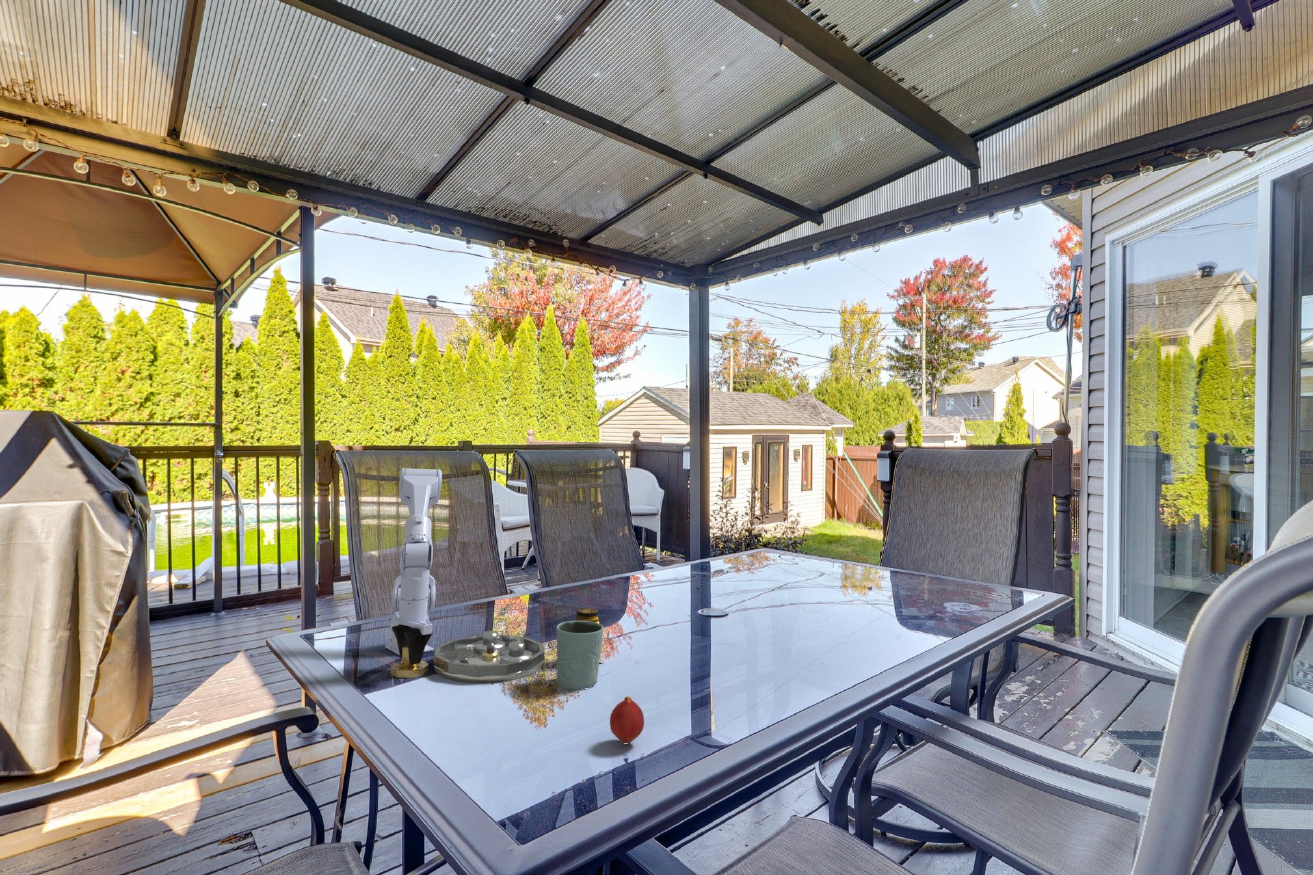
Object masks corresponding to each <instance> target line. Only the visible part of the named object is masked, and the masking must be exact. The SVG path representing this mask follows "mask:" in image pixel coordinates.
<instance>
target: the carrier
mask: <svg viewBox="0 0 1313 875" xmlns="http://www.w3.org/2000/svg"><path fill="white" fill-rule="evenodd" d="M545 652H546V650H545V648H544V645H543V643H542V642H539V641H538V640H537V641H536V640H535V639H532V638H529V637H526V636H517V635H508V634H499V631H495V630H486V631H484V632H483V633H482V635H481V634H480V635H471V636H466V637H460V638H454V639H451V640H449V641H448V640H447V641H446V642H444V643H441V644H440V645H437V646H436V647H435V650H434V654H433V666H434V667H433V671H434V672H435V674H437V675H438V676H439V677H442V678H445V679H447V680H451V681H455V682H456V681H457V682H461V683H462V682H463V683H472V684H473V683H474V684H476V683H478V684H486V683H487V684H490V683H491V684H493V683H503V682H509V681H514V680H518V679H519V680H520V679H522V678H526V677H528V676H531V675H534V674H536V673H537V672H539V671H540V670H541V669H542V668H543V665H544V661H545V657H546V656H545V655H546V654H545Z"/></svg>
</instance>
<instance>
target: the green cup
mask: <svg viewBox="0 0 1313 875" xmlns="http://www.w3.org/2000/svg"><path fill="white" fill-rule="evenodd" d="M555 627H556V656H557V657H556V667H557V668H556V672H557V674H556V684H557V686H558V687H560V688H562V689H566V690H569V691H570V690H572V691H583V690H582V689H584V690H586V689H585V688H589V689H591V688H590V687H592V686H594V685H595V684H596V683H597V682H598V675H599V674H598V673H599V669H600V668H599V667H600V664H599V660H600V658H601V652H602V642H603V634H604V626H603V625H602V623H601V624H600V622H599V623H595V622H590V621H576V620H569V621H563V622H560V623H559V624H557V626H555ZM597 684H598V683H597ZM597 684H596V685H597ZM596 685H595V686H596ZM595 686H594V687H595ZM592 688H593V687H592Z"/></svg>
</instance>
